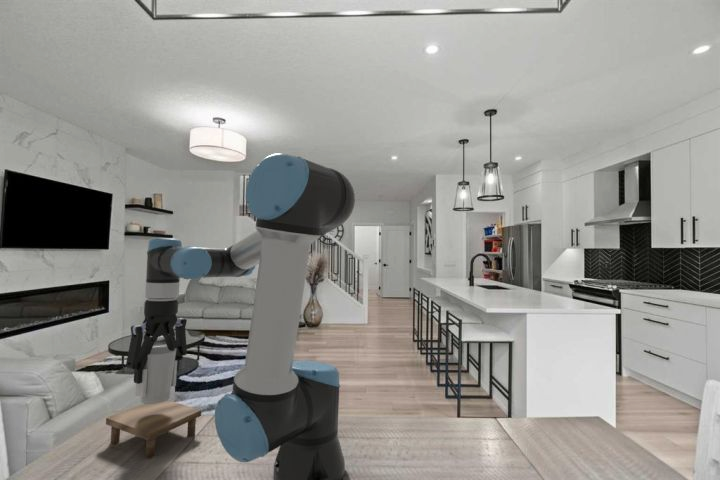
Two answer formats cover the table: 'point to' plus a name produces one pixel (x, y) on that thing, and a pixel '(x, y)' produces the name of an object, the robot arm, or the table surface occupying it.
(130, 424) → the low wooden table
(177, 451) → the table surface
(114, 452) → the table surface
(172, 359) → the cup
